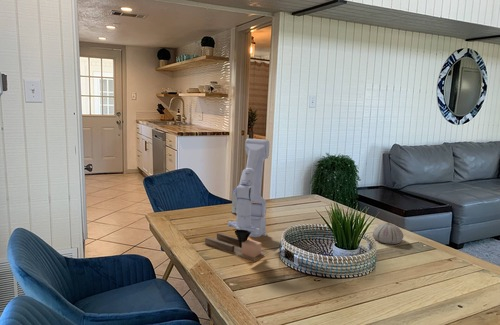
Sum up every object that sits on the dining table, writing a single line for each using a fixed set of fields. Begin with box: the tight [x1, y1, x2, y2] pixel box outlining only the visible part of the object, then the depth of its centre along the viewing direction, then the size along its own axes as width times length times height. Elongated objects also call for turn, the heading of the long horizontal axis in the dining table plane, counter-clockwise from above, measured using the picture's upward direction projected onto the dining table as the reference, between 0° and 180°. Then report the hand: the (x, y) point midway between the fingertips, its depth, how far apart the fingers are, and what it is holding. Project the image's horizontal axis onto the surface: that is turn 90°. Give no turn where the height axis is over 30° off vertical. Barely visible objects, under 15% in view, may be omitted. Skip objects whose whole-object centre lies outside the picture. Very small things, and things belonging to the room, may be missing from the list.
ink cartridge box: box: [231, 188, 253, 214], centre depth 208 cm, size 10×6×14 cm, turn 78°
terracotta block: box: [242, 238, 263, 257], centre depth 153 cm, size 5×6×4 cm
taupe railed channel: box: [202, 231, 269, 264], centre depth 159 cm, size 14×26×4 cm, turn 55°
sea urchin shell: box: [372, 222, 404, 245], centre depth 176 cm, size 13×14×8 cm
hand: (242, 247), depth 156 cm, fingers closed
